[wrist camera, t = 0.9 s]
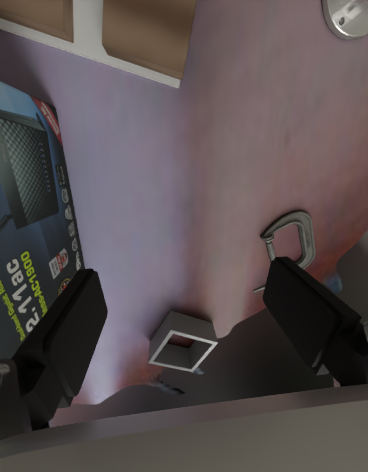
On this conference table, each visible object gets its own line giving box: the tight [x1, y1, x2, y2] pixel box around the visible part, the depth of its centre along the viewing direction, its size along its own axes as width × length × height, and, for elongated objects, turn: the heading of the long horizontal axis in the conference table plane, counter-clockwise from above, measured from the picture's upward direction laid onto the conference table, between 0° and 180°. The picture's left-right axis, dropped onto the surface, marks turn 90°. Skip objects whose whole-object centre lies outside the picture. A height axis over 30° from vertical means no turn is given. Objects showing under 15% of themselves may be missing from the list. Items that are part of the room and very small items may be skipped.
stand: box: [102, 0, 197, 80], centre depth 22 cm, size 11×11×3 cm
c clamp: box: [253, 211, 315, 292], centre depth 42 cm, size 20×17×3 cm
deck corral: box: [148, 310, 218, 372], centre depth 49 cm, size 14×14×6 cm
